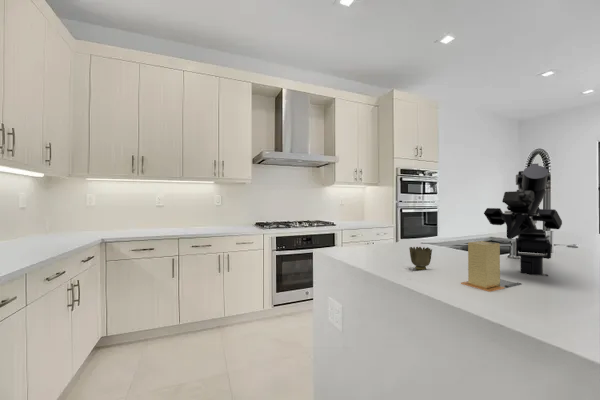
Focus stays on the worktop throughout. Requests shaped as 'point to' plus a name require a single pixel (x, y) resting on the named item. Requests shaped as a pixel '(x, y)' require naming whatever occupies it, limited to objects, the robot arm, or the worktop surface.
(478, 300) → the worktop surface
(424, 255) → the cup
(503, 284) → the silver flat plate
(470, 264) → the brass block
